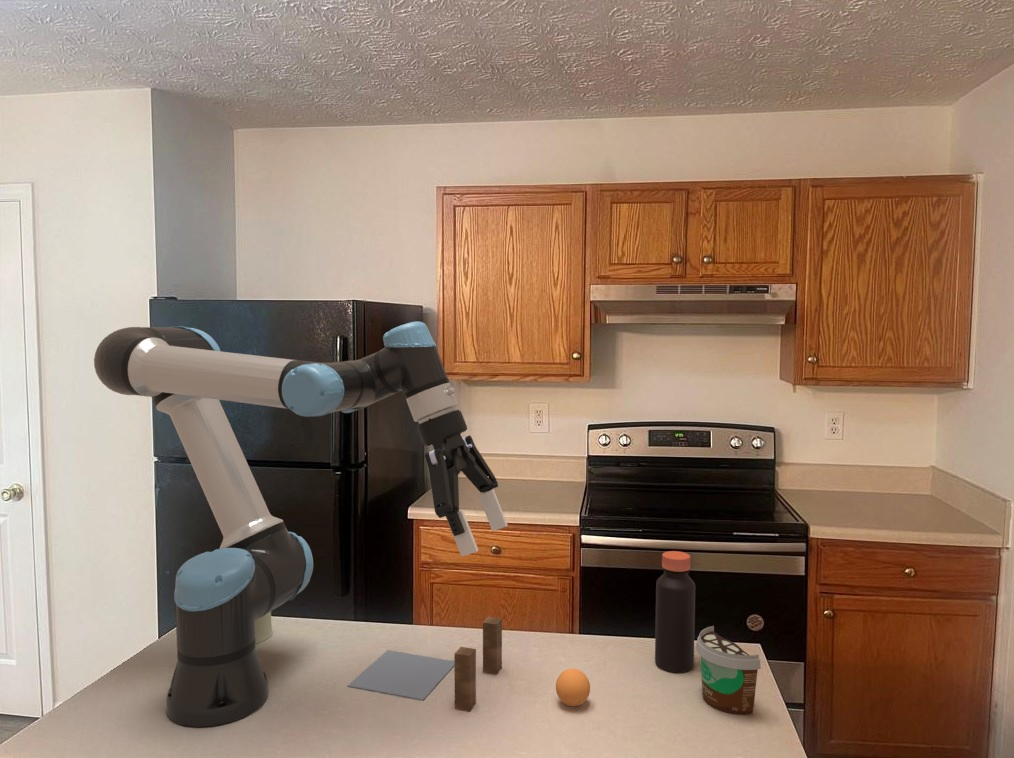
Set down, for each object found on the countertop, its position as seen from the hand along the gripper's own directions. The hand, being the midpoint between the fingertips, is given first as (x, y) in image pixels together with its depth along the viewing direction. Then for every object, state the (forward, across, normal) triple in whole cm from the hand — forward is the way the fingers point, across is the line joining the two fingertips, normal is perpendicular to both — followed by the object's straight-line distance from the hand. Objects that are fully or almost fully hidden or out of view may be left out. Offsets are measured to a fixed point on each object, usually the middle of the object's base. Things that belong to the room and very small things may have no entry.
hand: (485, 540), depth 114 cm
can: (+4, +7, +59) cm, 59 cm away
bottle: (+35, +22, -15) cm, 44 cm away
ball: (+27, +3, -3) cm, 27 cm away
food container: (+38, +11, -23) cm, 46 cm away
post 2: (+24, +9, +12) cm, 28 cm away
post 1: (+23, -3, +12) cm, 27 cm away
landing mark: (+18, +3, +25) cm, 31 cm away
